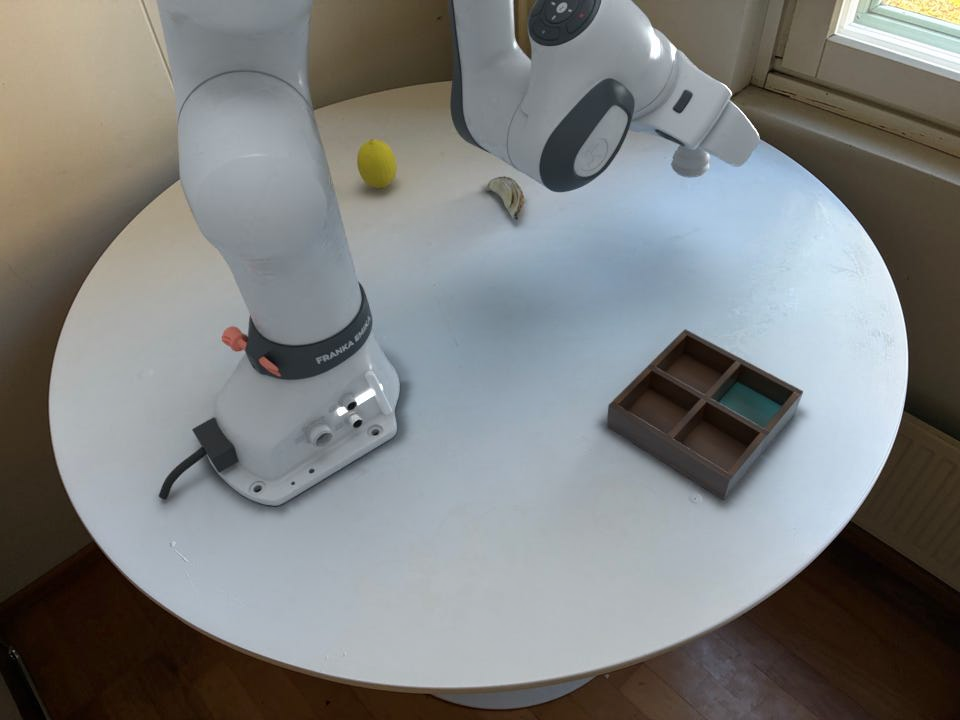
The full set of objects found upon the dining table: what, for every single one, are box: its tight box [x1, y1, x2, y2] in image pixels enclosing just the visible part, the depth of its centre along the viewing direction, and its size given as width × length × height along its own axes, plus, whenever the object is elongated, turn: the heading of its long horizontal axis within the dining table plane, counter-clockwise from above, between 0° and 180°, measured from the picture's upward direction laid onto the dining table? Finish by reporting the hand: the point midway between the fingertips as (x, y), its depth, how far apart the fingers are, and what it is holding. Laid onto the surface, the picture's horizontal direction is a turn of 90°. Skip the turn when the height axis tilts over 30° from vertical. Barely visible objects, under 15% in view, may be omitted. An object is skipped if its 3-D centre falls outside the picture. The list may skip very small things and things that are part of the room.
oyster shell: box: [486, 176, 525, 221], centre depth 107 cm, size 6×4×10 cm
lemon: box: [356, 139, 397, 189], centre depth 111 cm, size 6×6×8 cm
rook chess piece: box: [670, 145, 711, 179], centre depth 89 cm, size 4×4×8 cm
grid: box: [606, 328, 804, 501], centre depth 80 cm, size 14×14×4 cm
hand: (698, 134), depth 88 cm, fingers closed on rook chess piece, 3 cm apart
